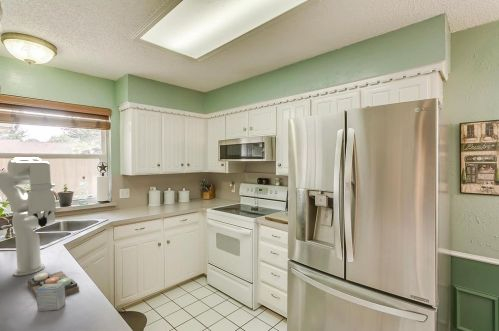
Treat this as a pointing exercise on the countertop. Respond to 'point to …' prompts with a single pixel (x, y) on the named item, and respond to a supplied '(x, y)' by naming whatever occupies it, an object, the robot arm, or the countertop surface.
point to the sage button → (65, 281)
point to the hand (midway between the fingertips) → (42, 226)
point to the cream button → (40, 277)
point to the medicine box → (50, 297)
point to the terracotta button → (52, 280)
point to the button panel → (61, 275)
